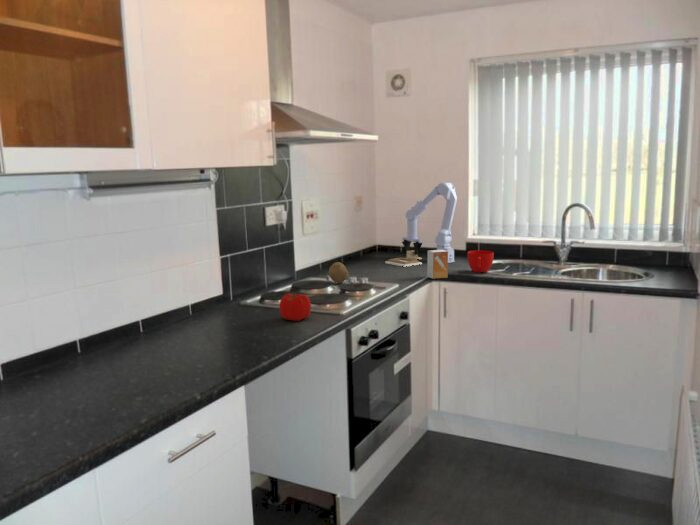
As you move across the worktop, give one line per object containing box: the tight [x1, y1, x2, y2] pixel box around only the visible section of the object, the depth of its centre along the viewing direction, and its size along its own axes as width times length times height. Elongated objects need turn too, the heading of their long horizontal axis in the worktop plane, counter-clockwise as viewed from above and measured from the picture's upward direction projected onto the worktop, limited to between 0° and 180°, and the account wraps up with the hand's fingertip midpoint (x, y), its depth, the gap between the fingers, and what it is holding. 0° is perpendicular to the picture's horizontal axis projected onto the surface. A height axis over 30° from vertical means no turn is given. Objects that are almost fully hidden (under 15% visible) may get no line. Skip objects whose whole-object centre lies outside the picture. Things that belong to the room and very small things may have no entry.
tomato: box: [278, 293, 312, 322], centre depth 206 cm, size 11×12×9 cm
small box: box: [426, 249, 449, 280], centre depth 278 cm, size 8×6×13 cm
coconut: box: [328, 261, 350, 284], centre depth 268 cm, size 9×9×10 cm
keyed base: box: [384, 257, 423, 268], centre depth 319 cm, size 16×13×2 cm
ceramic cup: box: [467, 249, 495, 274], centre depth 289 cm, size 13×17×10 cm
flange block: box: [406, 249, 423, 260], centre depth 333 cm, size 10×6×5 cm, turn 128°
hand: (412, 254), depth 333 cm, fingers open, 7 cm apart
